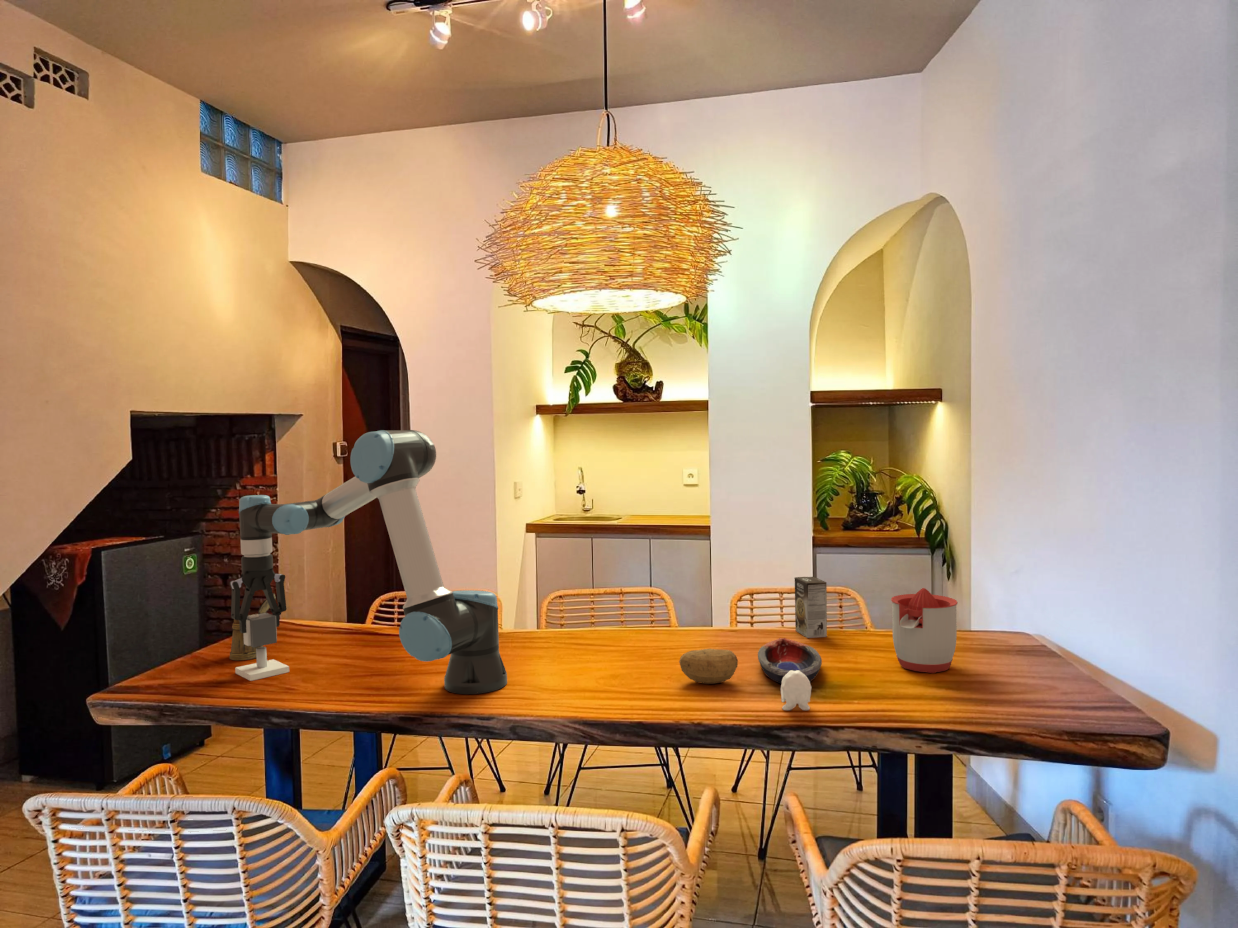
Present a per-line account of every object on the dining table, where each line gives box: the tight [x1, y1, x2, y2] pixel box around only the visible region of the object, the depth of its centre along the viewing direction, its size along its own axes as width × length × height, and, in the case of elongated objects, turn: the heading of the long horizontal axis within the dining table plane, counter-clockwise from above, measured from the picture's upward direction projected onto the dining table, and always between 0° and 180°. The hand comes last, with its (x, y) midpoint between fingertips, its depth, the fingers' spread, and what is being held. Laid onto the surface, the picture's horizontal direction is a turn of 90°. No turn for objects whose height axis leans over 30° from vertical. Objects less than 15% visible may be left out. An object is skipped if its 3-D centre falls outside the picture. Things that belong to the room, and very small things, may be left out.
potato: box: [678, 648, 739, 685], centre depth 199 cm, size 10×14×8 cm
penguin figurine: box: [780, 670, 812, 711], centre depth 182 cm, size 6×8×12 cm
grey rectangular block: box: [247, 612, 278, 647], centre depth 216 cm, size 6×6×8 cm
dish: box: [757, 637, 823, 684], centre depth 207 cm, size 16×31×5 cm, turn 171°
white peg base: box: [234, 646, 290, 682], centre depth 217 cm, size 10×10×6 cm
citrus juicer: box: [890, 587, 958, 674], centre depth 206 cm, size 16×17×20 cm
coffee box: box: [794, 576, 828, 639], centre depth 242 cm, size 9×6×16 cm
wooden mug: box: [229, 592, 277, 661], centre depth 233 cm, size 9×14×18 cm, turn 84°
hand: (260, 641), depth 217 cm, fingers closed on grey rectangular block, 6 cm apart
